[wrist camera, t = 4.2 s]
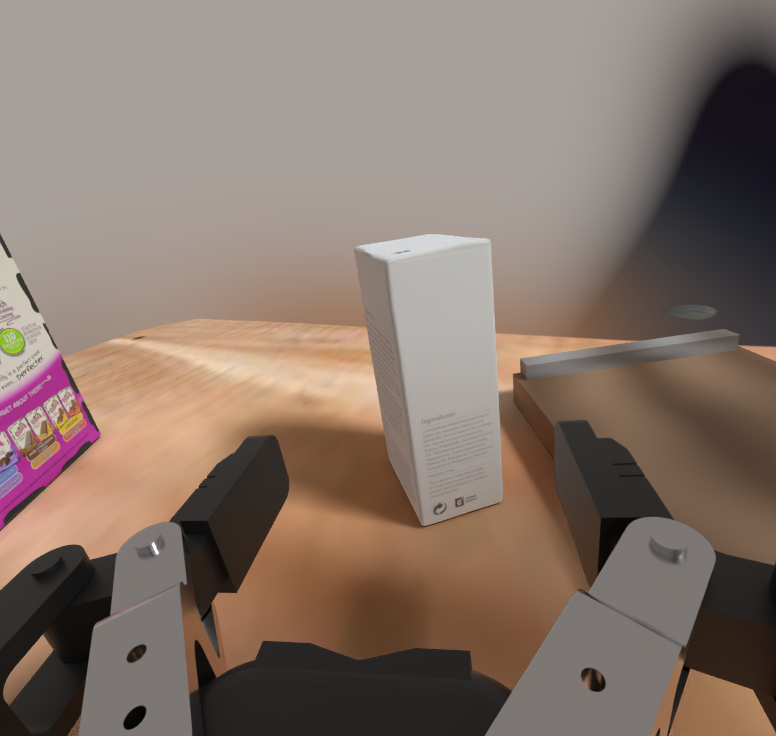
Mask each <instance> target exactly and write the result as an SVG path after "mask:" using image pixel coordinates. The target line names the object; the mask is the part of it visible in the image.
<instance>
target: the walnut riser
mask: <svg viewBox="0 0 776 736" xmlns="http://www.w3.org/2000/svg"><path fill="white" fill-rule="evenodd" d="M738 340H739V335H738V334H736V333H733V332H731V331H728V330H726V329H721V330H714V331H707V332H700V333H694V334H686V335H680V336H673V337H666V338H659V339H652V340H645V341H638V342H631V343H625V344H618V345H611V346H604V347H597V348H590V349H583V350H576V351H570V352H563V353H556V354H549V355H542V356H535V357H528V358H522V359H520V366H521V373H516V374H513V388H514V402H515V403H516V405H517V406H518V408H519V409H520V410H521V412H522V413H523V415H524V416H525V418H526V419H527V421H528V422H529V424H530V425H531V427H532V428H533V430H534V431H535V432H536V434H537V435H538V437H539V438H540V440H541V441H542V443H543V444H544V446H545V447H546V449H547V450H548V452H549V453H550V454H551V456H552V457H553V459H554V445H555V423H556V421H570V420H587V421H588V423H589V424H590V426H591V428H592V430H593V431H594V433H595V435H596V437H597V438H612V439H614V440H615V441H617V442H618V443H619V444H621V445H622V446H624V447H625V448H627V449H628V450H629V452H630V453H631V455H632V456H633V458H634V460H635V461H636V463H637V466H639V467H640V469H641V470H642V472H643V473H644V476H645V478H647V479H648V481H649V482H650V484H651V485H652V487H653V488H654V490H655V491H656V493H657V494H658V496H659V497H660V499H661V500H662V502H663V503H664V505H665V506H666V508H667V509H668V511H669V512H670V514H671V516H672V517H673V519H674V520H675V521H678V522H680V523H683V524H685V525H687V526H689V527H691V528H693V529H694V530H696V531H697V532H699V533H700V534H701V535H702V536H703V537H705V538H706V540H707V541H708V542H709V543H710V544H711V546H712V547H713V549H714V550H716V551H718V552H721V553H724V554H728V555H732V556H736V557H740V558H745V559H749V560H754V561H758V562H763V563H767V564H772V565H775V562H776V361H773V360H771V359H768V358H766V357H763V356H761V355H759V354H756V353H754V352H751V351H749V350H746V349H744V348H742V347H739V346H737V345H738Z"/></svg>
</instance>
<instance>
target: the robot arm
mask: <svg viewBox="0 0 776 736" xmlns="http://www.w3.org/2000/svg"><path fill="white" fill-rule="evenodd" d="M554 473H555V482H556V488H557V492H558V495H559V498H560V501H561V504H562V507H563V510H564V513H565V516H566V519H567V522H568V524H569V527H570V530H571V533H572V536H573V539H574V542H575V545H576V548H577V551H578V554H579V557H580V560H581V563H582V566H583V568H584V571H585V574H586V577H587V580H588V583H589V586H590V590H589V591H588V592H585V591H583V590H581V589H579V590H577V591H576V592H575V593H574V594H573V595H572V597H571V598H570V600H569V601H568V603H567V604H566V606H565V608H564V609H563V611H562V612H561V614H560V616H559V617H558V619H557V620H556V622H555V624H554V625H553V627H552V629H551V630H550V632H549V633H548V635H547V637H546V638H545V640H544V641H543V643H542V645H541V646H540V648H539V649H538V651H537V653H536V654H535V656H534V657H533V659H532V661H531V662H530V664H529V665H528V667H527V669H526V670H525V672H524V673H523V675H522V677H521V678H520V680H519V682H518V683H517V685H516V686H515V688H514V690H513V691H511V690H510V689H509V688H507V687H505V686H504V685H502V684H501V683H499V682H498V681H496V680H494V679H492V678H490V677H488V676H486V675H483V674H481V673H478V672H475V671H472V665H471V656H470V651H463V650H442V649H421V648H414V649H410V650H405V651H401V652H396V653H392V654H387V655H383V656H378V657H374V658H369V659H364V660H356V659H352V658H350V657H347V656H344V655H341V654H339V653H336V652H333V651H330V650H327V649H325V648H322V647H319V646H316V645H314V644H311V643H294V642H273V641H263V642H262V645H261V647H260V650H259V652H258V654H257V657H256V659H255V660H254V661H250V662H247V663H245V664H242V665H239V666H237V667H235V668H233V669H231V670H229V671H227V667H226V662H225V656H224V650H223V645H222V639H221V634H220V628H219V623H218V617H217V612H216V608H215V605H214V603H213V600H214V598H215V596H216V595H217V593H237V591H238V589H239V587H240V586H241V584H242V582H243V580H244V578H245V576H246V574H247V572H248V570H249V568H250V567H251V565H252V563H253V561H254V559H255V557H256V555H257V553H258V551H259V550H260V548H261V546H262V544H263V542H264V540H265V538H266V536H267V534H268V532H269V531H270V529H271V527H272V525H273V523H274V521H275V519H276V517H277V515H278V514H279V512H280V510H281V508H282V506H283V504H284V502H285V500H286V498H287V496H288V491H289V478H288V474H287V471H286V467H285V464H284V460H283V457H282V454H281V450H280V447H279V443H278V440H277V439H276V437H275V436H273V435H268V436H250V437H247V438H246V439H245V441H244V442H243V443H242V444H241V445H240V447H239V448H238V449H237V450H236V452H235V453H234V454H231V455H229V456H228V457H227V458H225V459H224V460H222V461H221V462H220V463H218V464H217V465H216V466H215V467H214V469H213V470H212V471H211V472H210V473H209V475H208V476H207V479H204V480H203V482H202V483H201V484H200V485H199V489H196V490H195V491H194V492H193V494H192V495H191V496H190V497H189V498H188V500H187V501H186V502H185V503H184V504H183V505H182V507H181V508H180V509H179V510H178V511H177V513H176V514H175V515H174V516H173V517H172V519H171V520H170V521H169V522H163V523H158V524H154V525H152V526H149V527H147V528H145V529H143V530H141V531H139V532H138V533H136V534H135V535H133V536H132V537H131V538H130V539H128V540H127V541H126V542H125V543H124V544H123V546H122V547H121V548H120V550H119V551H118V553H115V554H112V555H108V556H104V557H100V558H96V559H92V560H90V559H89V557H88V555H87V554H86V552H85V550H84V548H83V547H82V546H80V545H67V546H62V547H59V548H56V549H54V550H52V551H49V552H47V553H45V554H44V555H42V556H40V557H38V558H37V559H35V560H34V561H32V562H31V563H30V564H28V565H27V566H26V567H25V568H24V569H23V570H22V571H20V572H19V573H18V574H17V575H16V576H15V577H14V578H13V579H12V580H11V581H10V582H9V583H8V584H7V585H6V586H5V587H4V588H3V589H1V590H0V736H67V735H68V733H69V732H70V730H71V729H72V727H73V726H74V724H75V723H76V721H77V720H78V718H79V717H80V715H81V720H80V727H79V734H78V736H671V734H672V731H673V728H674V725H675V722H676V719H677V716H678V712H679V709H680V706H681V703H682V700H683V697H684V694H685V691H686V688H687V685H688V681H689V678H690V675H691V672H692V669H693V670H696V671H699V672H702V673H705V674H708V675H711V676H714V677H717V678H720V679H723V680H726V681H729V682H732V683H735V684H738V685H741V686H744V687H747V688H750V689H753V690H754V692H755V694H756V696H757V698H758V700H759V702H760V704H761V705H762V707H763V709H764V711H765V713H766V715H767V717H768V719H769V721H770V722H771V724H772V726H773V728H774V730H775V732H776V562H775V565H772V564H767V563H763V562H758V561H754V560H749V559H745V558H740V557H736V556H732V555H728V554H724V553H721V552H718V551H716V550H714V549H713V547H712V546H711V544H710V543H709V542H708V541H707V540H706V538H705V537H703V536H702V535H701V534H700V533H699V532H697V531H696V530H694V529H693V528H691V527H689V526H687V525H685V524H683V523H680V522H678V521H675V520H674V519H673V517H672V516H671V514H670V512H669V511H668V509H667V508H666V506H665V505H664V503H663V502H662V500H661V499H660V497H659V496H658V494H657V493H656V491H655V490H654V488H653V487H652V485H651V484H650V482H649V481H648V479H647V478H645V476H644V473H643V472H642V470H641V469H640V467H639V466H637V463H636V461H635V460H634V458H633V456H632V455H631V453H630V452H629V450H628V449H627V448H625V447H624V446H622V445H621V444H619V443H618V442H617V441H615V440H614V439H612V438H597V437H596V435H595V433H594V431H593V430H592V428H591V426H590V424H589V423H588V421H587V420H570V421H556V423H555V445H554ZM42 635H44V637H45V638H46V640H47V641H48V643H49V644H50V645H51V647H52V648H53V650H54V651H53V652H52V653H51V655H50V656H49V657H48V658H47V660H46V661H45V662H44V663H43V665H42V666H41V667H40V668H39V670H38V671H37V672H36V673H35V674H34V676H33V677H32V678H31V679H30V681H29V682H28V683H27V684H26V686H25V687H24V688H23V689H22V691H21V692H20V693H19V694H18V696H17V697H16V698H15V699H14V701H13V702H12V703H11V704H10V706H8V704H7V703H6V702H5V700H4V698H3V688H4V685H5V682H6V680H7V678H8V676H9V674H10V672H11V671H12V670H13V669H14V667H15V666H16V665H17V664H18V663H19V661H20V660H21V659H22V658H23V657H24V656H25V654H26V653H27V652H28V651H29V650H30V649H31V647H32V646H33V645H34V644H35V643H36V642H37V640H38V639H39V638H40V637H41V636H42Z"/></svg>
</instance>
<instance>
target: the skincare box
mask: <svg viewBox="0 0 776 736" xmlns="http://www.w3.org/2000/svg"><path fill="white" fill-rule="evenodd" d="M354 252H355V259H356V264H357V270H358V277H359V282H360V288H361V295H362V301H363V308H364V314H365V320H366V326H367V332H368V338H369V344H370V350H371V356H372V362H373V368H374V373H375V379H376V385H377V391H378V397H379V403H380V409H381V415H382V422H383V427H384V434H385V440H386V446H387V452H388V458H389V460H390V462H391V464H392V466H393V468H394V470H395V472H396V475H397V477H398V479H399V481H400V483H401V485H402V487H403V489H404V491H405V493H406V495H407V497H408V499H409V501H410V503H411V505H412V507H413V509H414V511H415V513H416V515H417V517H418V519H419V521H420V523H421V525H422V526H427V525H430V524H434V523H437V522H440V521H443V520H446V519H450V518H452V517H455V516H459V515H462V514H465V513H468V512H471V511H474V510H477V509H480V508H484V507H487V506H490V505H493V504H496V503H500V502H501V501H503V498H504V495H503V473H502V457H501V437H500V415H499V395H498V377H497V357H496V338H495V319H494V318H495V317H494V299H493V298H494V297H493V281H492V261H491V242H490V240H489V239H482V238H467V237H458V236H450V235H438V234H428V235H421V236H415V237H410V238H404V239H398V240H392V241H386V242H380V243H374V244H368V245H362V246H358V247H356V248H355V249H354Z"/></svg>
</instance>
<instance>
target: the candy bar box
mask: <svg viewBox="0 0 776 736" xmlns="http://www.w3.org/2000/svg"><path fill="white" fill-rule="evenodd" d="M100 435H101V433H100V431H99V429H98V428H97V426H96V424H95V422H94V420H93V418H92V416H91V414H90V412H89V410H88V408H87V406H86V404H85V402H84V399H83V397H82V395H81V394H80V392H79V390H78V388H77V386H76V384H75V382H74V380H73V378H72V376H71V374H70V372H69V370H68V368H67V366H66V364H65V362H64V360H63V358H62V355H61V354H60V352H59V350H58V348H57V346H56V344H55V343H54V340H53V338H52V337H51V335H50V333H49V330H48V328H47V327H46V324H45V322H44V320H43V318H42V316H41V314H40V312H39V310H38V308H37V306H36V304H35V302H34V300H33V298H32V296H31V294H30V292H29V290H28V288H27V286H26V284H25V283H24V280H23V278H22V276H21V274H20V272H19V270H18V268H17V266H16V264H15V263H14V260H13V258H12V256H11V254H10V252H9V250H8V248H7V246H6V244H5V242H4V240H3V238H2V236H1V235H0V530H1V529H2V528H3V527H4V526H5V525H6V524H8V523H9V522H10V521H11V520H12V519H13V518H14V517H15V516H16V515H17V514H18V513H19V512H20V511H22V510H23V509H24V508H25V507H26V506H27V505H28V504H29V503H30V502H31V501H32V500H33V499H34V498H35V497H36V496H37V495H39V494H40V493H41V492H42V491H43V490H44V489H45V488H46V487H47V486H48V485H49V484H50V483H51V482H52V481H53V480H54V479H55V478H57V477H58V476H59V475H60V474H61V473H62V472H63V471H64V470H65V469H66V468H67V467H68V466H69V465H70V464H71V463H72V462H73V461H74V460H75V459H76V458H78V457H79V456H80V455H81V454H82V453H83V452H84V451H85V450H86V449H87V448H88V447H89V446H90V445H91V444H92V443H93V442H95V441H96V440H97V439H98V438H99V436H100Z"/></svg>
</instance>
